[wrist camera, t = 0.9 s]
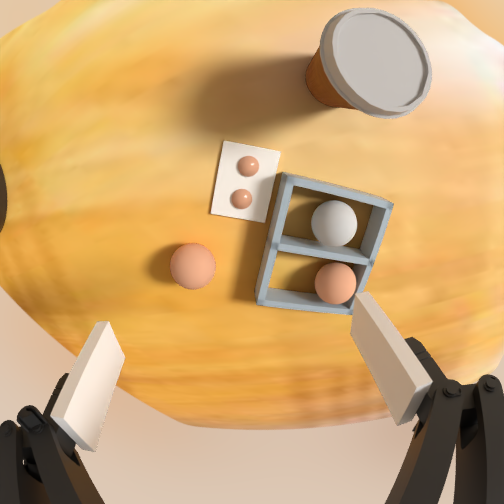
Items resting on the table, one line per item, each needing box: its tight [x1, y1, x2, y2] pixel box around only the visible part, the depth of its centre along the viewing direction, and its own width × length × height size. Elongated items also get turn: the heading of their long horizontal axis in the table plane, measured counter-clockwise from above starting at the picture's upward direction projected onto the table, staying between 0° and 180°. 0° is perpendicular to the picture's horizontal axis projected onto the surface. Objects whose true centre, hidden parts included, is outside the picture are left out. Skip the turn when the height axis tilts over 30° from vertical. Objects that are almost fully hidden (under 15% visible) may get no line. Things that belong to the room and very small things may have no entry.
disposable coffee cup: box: [306, 8, 432, 119], centre depth 20 cm, size 10×10×12 cm
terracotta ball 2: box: [315, 262, 356, 304], centre depth 33 cm, size 5×5×5 cm
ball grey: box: [311, 200, 357, 247], centre depth 30 cm, size 5×5×5 cm
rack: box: [254, 172, 394, 315], centre depth 32 cm, size 13×15×3 cm
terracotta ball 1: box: [170, 243, 216, 289], centre depth 31 cm, size 5×5×5 cm
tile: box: [211, 141, 281, 223], centre depth 30 cm, size 6×8×1 cm
